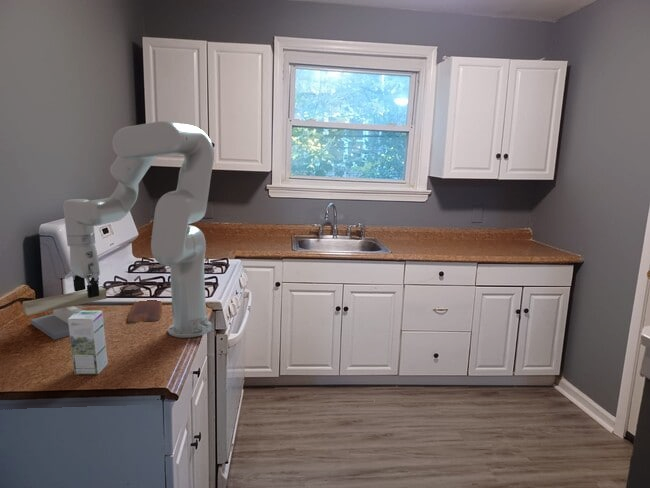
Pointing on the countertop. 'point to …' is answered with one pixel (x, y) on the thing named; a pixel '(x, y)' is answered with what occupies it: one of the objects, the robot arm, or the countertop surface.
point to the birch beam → (61, 301)
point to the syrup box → (87, 342)
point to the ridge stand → (56, 322)
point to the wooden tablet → (145, 311)
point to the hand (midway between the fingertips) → (86, 293)
